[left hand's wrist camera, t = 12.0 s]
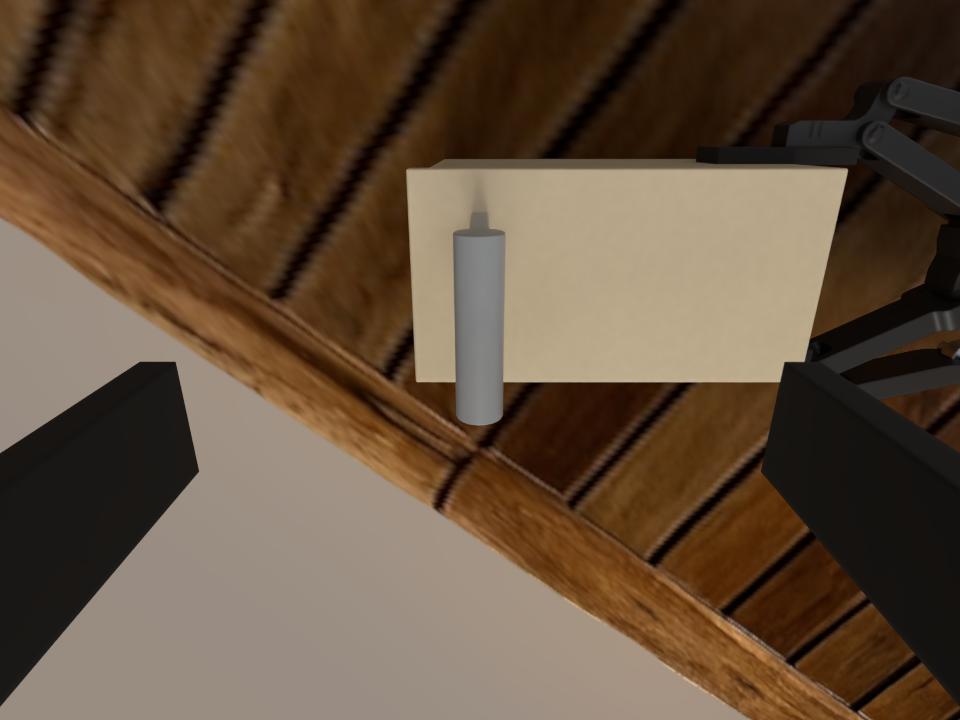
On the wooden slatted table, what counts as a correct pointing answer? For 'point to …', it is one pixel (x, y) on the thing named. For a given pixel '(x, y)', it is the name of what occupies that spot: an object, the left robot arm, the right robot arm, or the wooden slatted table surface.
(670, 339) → the lid
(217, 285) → the wooden slatted table surface
